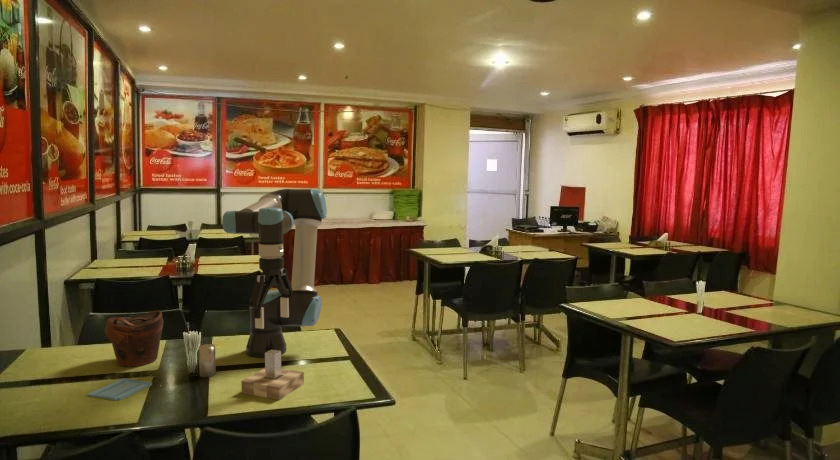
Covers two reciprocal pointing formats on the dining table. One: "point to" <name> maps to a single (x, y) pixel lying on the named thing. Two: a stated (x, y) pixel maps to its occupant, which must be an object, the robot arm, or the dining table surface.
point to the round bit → (207, 360)
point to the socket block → (272, 384)
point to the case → (135, 338)
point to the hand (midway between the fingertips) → (272, 322)
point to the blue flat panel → (120, 389)
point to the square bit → (273, 364)
